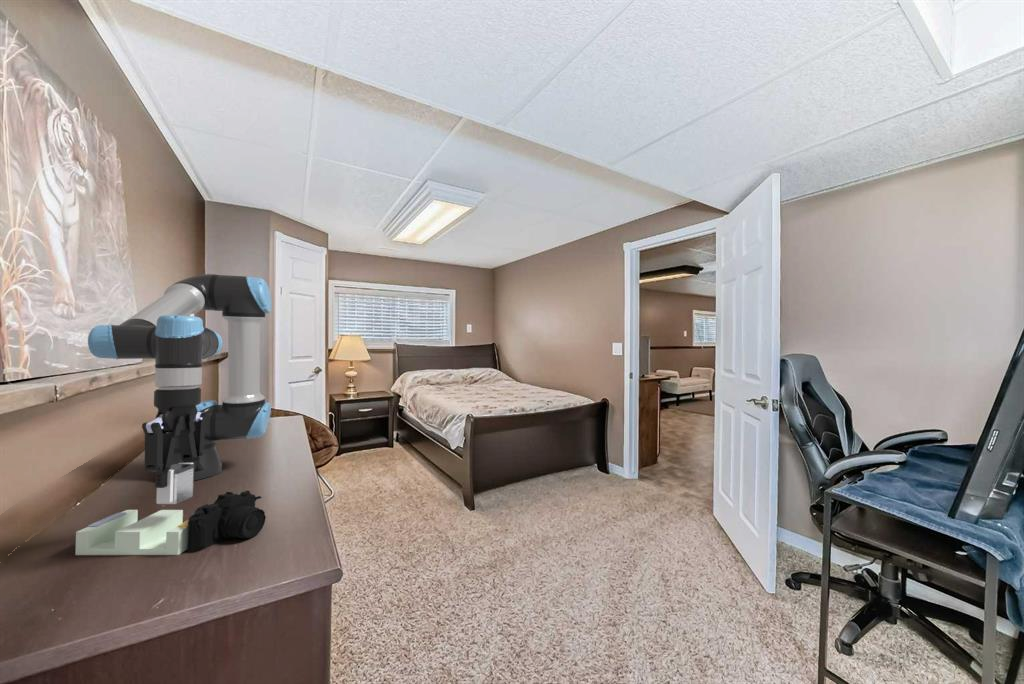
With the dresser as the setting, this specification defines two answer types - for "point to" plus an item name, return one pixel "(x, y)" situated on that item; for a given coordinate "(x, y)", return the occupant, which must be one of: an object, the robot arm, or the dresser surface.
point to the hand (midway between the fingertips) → (175, 497)
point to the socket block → (135, 534)
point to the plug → (182, 482)
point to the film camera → (225, 520)
